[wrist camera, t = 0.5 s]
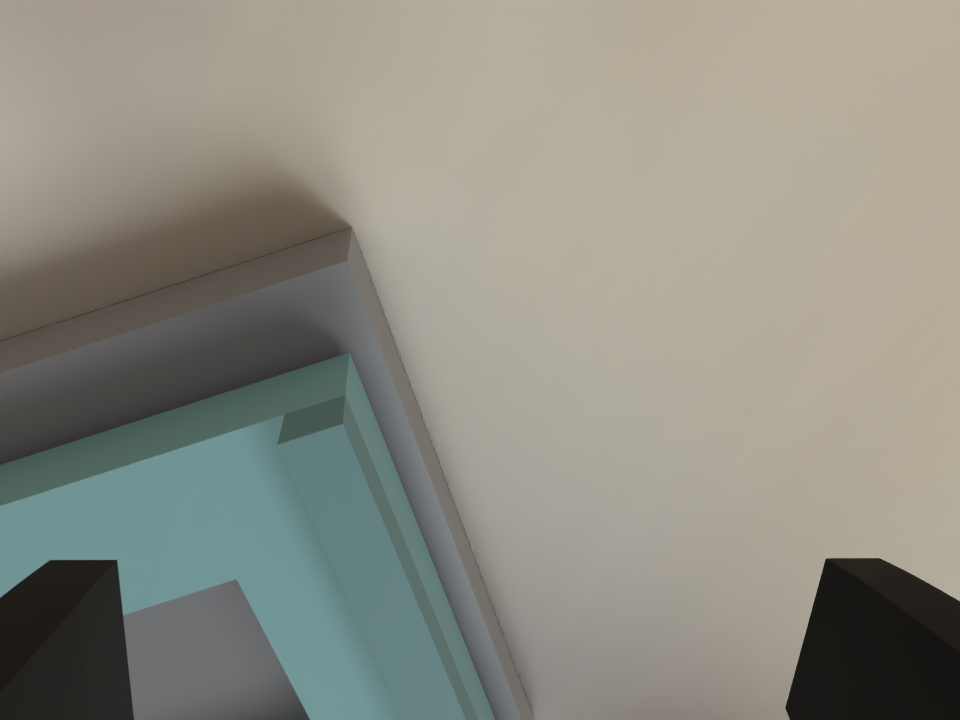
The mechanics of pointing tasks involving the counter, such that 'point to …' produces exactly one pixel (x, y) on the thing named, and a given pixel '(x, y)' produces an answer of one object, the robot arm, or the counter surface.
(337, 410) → the keeper plate
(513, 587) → the counter surface
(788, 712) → the robot arm
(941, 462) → the counter surface
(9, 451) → the housing
